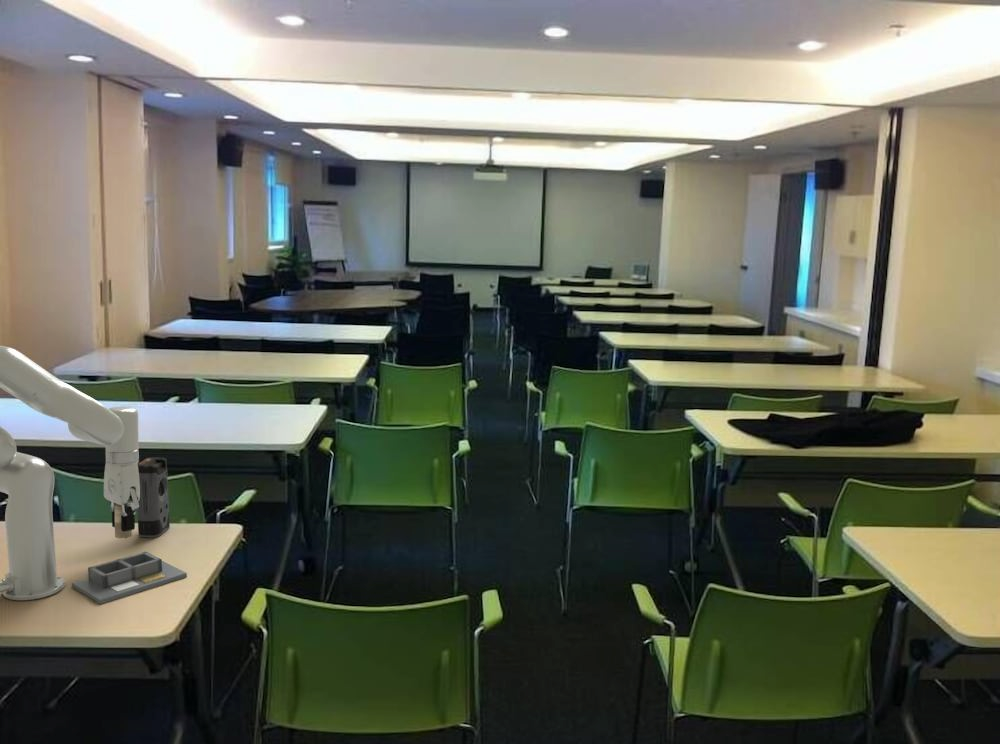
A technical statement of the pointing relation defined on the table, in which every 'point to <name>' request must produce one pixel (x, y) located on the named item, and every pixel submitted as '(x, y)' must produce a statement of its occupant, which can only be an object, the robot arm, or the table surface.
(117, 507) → the birch plug
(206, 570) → the table surface
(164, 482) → the electronic device
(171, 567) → the charging dock
